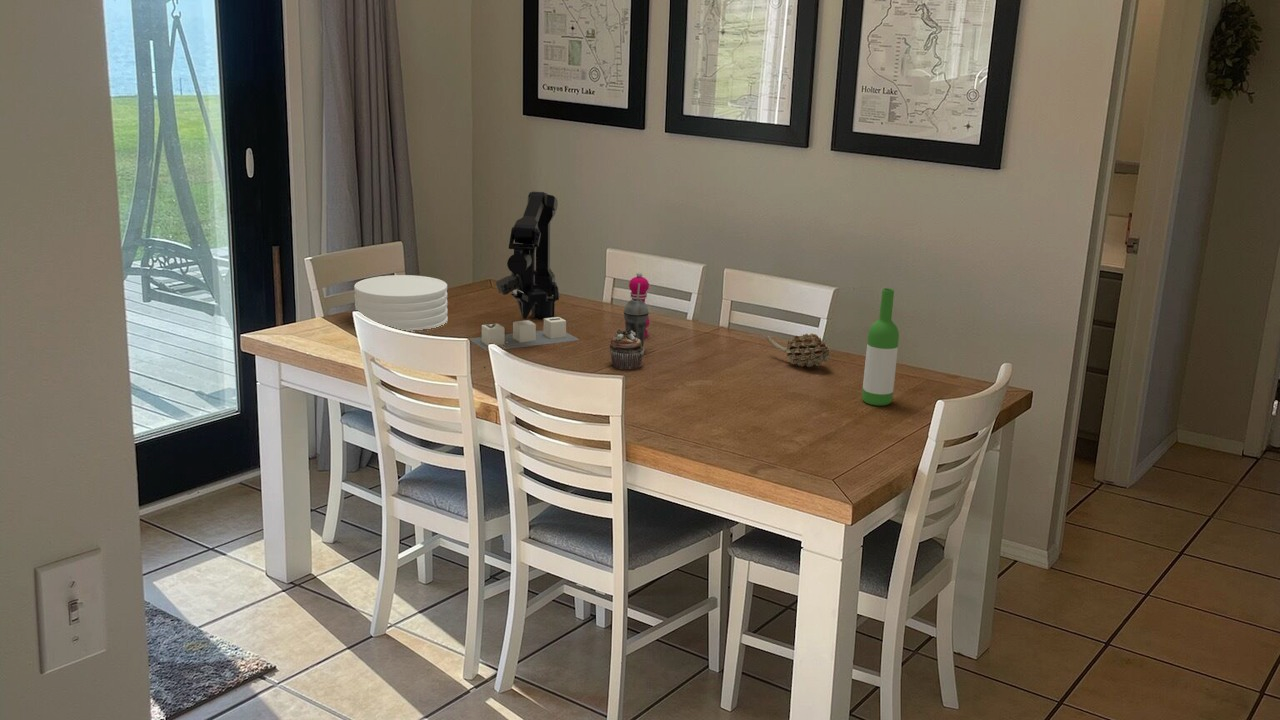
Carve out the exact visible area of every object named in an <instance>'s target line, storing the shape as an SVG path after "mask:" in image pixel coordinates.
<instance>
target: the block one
mask: <svg viewBox="0 0 1280 720" xmlns="http://www.w3.org/2000/svg"><path fill="white" fill-rule="evenodd" d="M543 330H544V332H543V335H545V336H547V337H549V338H550V339H553V338H562V337H566V332H567V320H565V319H564V318H561V317H560V316H555V317H553V318H544V319H543Z"/></svg>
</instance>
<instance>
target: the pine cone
mask: <svg viewBox="0 0 1280 720" xmlns="http://www.w3.org/2000/svg"><path fill="white" fill-rule="evenodd" d="M767 341H768V343H769V344H770V345H771V346H772V347H774V348H776V349H777V350H779V351H781V352H783V353H785V354H786V356H787V358H788V360H789V361H788V362H789V363H791V365H797V366H798V367H804V366H806V367H808V368H810V367H811V368H812V367H813V366H816V367H819V366H822V365H823V364H824V363H827V362H828V360H830V359H831V355H830V353H831V349H830V348H829V346H828V344H827V343H825V342H823V340H822V337H819V335H818V334H816V333H815V334H814V333H809V334H808V333H805V334H802V335H799V336H798V335H795V336H794V337H792V338H791V339H789V340H787V343H786V347H783V346H782V345H780V344H778V343H777V342H776V341H775V340H774V339H773V338H771V336H769V335H768V336H767Z"/></svg>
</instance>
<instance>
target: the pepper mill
mask: <svg viewBox="0 0 1280 720" xmlns="http://www.w3.org/2000/svg"><path fill="white" fill-rule="evenodd" d="M638 284H640V289H639V299H640V300H642V301H643V302H644V303H645V304H646V299H647V297H648V293H647V292H648V290H649V288H650V283H649V281H648V279H647V278H646V277H643V273H642V272H641V271H638V272H636V276H634V277H632V278H631V279H630V281H629V283H628V287H629V290H630V295H629V297H630V298H631V300H633V299H637V293H638ZM649 317H650V316H648V318H647V321H646V329H645V336H644V339H646V338H648V329H647V328H648V327H649V326H650V318H649Z"/></svg>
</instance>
